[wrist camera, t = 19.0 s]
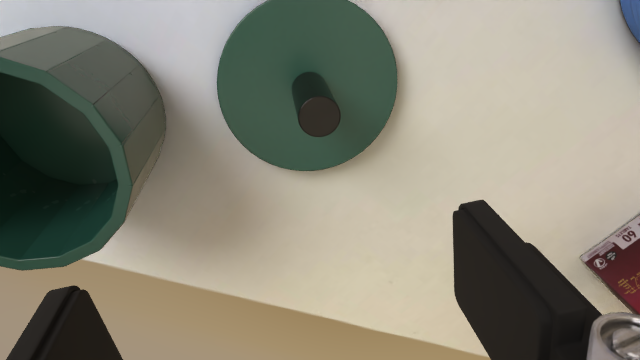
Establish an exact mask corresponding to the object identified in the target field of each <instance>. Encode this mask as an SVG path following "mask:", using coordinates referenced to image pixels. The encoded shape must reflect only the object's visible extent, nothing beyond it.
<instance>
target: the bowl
mask: <svg viewBox="0 0 640 360" xmlns="http://www.w3.org/2000/svg"><path fill="white" fill-rule="evenodd" d="M620 2H621V7H622V11H623V14H624V17H625V19H626V22H627V24H628V26H629V28H630V30H631V32H632V33H633V35H634V36H635V38H636V39H637V40H638V42H639V43H640V0H620Z"/></svg>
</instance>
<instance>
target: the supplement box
mask: <svg viewBox="0 0 640 360" xmlns="http://www.w3.org/2000/svg"><path fill="white" fill-rule="evenodd" d="M581 260H582V261H583V262H584V263H585V264H586V265H587V266H588V267H589V268H590V269H591V270H592V271H593V272H594V273H595V275H596V276H597V277H598V278H599V279H600V280H601V282H602V283H603V284H604V285H605V286H606V287H607V288H608V289H609V290H610V291H611V292H612V293H613V294H614V295H615V296H616V297H617V298H618V299H619V300H620V301H621V302H622V303H623V304H624V305H625V306H626V307H627V308H628V309H630V310H631V312H632V313H634V314H637V315H640V215H639V216H637V217H636V218H635V219H633V220H632V221H631V222H629V223H628V224H627V225H625V226H624V227H622V228H621V229H620V230H618V231H617V232H616V233H614V234H613V235H611V236H610V237H609V238H607V239H606V240H604V241H603V242H602V243H600V244H599V245H597V246H596V247H594V248H593V249H591V250H590V251H589V252H587V253H585V254H584V255H582V256H581Z"/></svg>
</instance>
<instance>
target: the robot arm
mask: <svg viewBox="0 0 640 360" xmlns="http://www.w3.org/2000/svg"><path fill="white" fill-rule="evenodd" d="M453 249H454V291H455V297H456V300H457V303H458V305H459V307H460V308H461V310H462V312H463V313H464V315H465V317H466V318H467V320H468V322H469V323H470V325H471V327H472V328H473V330H474V332H475V333H476V335H477V337H478V338H479V340H480V342H481V343H482V345H483V347H484V348H485V350H486V352H487V353H488V355H489V357H490V358H491V360H640V315H637V314H631V313H625V312H617V313H608V314H605V315H602V314H601V313H600V312H599V311H598V310H597V309H596V308H595V307H594V306H593V305H592V304H591V303H590V302H589V301H588V300H587V299H586V298H585V297H584V296H583V295H582V294H581V293H580V292H579V291H578V290H577V289H576V288H575V287H574V286H573V285H572V284H571V283H570V282H569V281H568V280H567V279H566V278H565V277H564V276H563V275H562V274H561V273H560V272H559V271H558V270H557V269H556V268H555V266H554V265H553V264H552V263H551V262H550V261H549V260H548V259H547V258H546V257H545V256H544V255H543V254H542V253H541V252H540V251H539V250H538V249H537V248H536V247H535V246H533V245H532V244H530V243H525V242H524V241H523V240H522V239H521V238H520V237H519V236H518V235H517V234H516V233H515V232H514V231H513V230H512V229H511V228H510V227H509V226H508V225H507V224H506V222H505V221H504V220H503V219H502V218H501V217H500V216H499V215H498V214H497V213H496V212H495V211H494V210H493V209H492V208H491V207H490V206H489V205H488V204H487V203H486V202H485V201H484V200H478V201H473V202H468V203H464V204H461V205H460V206H459V210H458V211H454V212H453ZM6 360H123V359H122V357H121V355H120V353H119V351H118V349H117V347H116V345H115V344H114V341H113V340H112V338H111V336H110V334H109V332H108V330H107V328H106V326H105V324H104V322H103V320H102V318H101V316H100V314H99V312H98V311H97V309H96V307H95V305H94V303H93V301H92V299H91V297H90V295H89V293H88V292H87V291H86V290H80V288H79V287H77V286H69V287H64V288H60V289H55V290H51V291H49V292H48V293H47V294H46V296H45V297H44V299H43V301H42V302H41V304H40V305H39V307H38V309H37V310H36V312H35V314H34V315H33V317H32V319H31V320H30V322H29V323H28V325H27V327H26V328H25V330H24V331H23V333H22V335H21V337H20V338H19V340H18V341H17V343H16V345H15V346H14V348H13V349H12V351H11V353H10V354H9V356H8V357H7V359H6Z"/></svg>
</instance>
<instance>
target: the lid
mask: <svg viewBox="0 0 640 360" xmlns="http://www.w3.org/2000/svg"><path fill="white" fill-rule="evenodd" d="M217 92H218V99H219V104H220V107H221V110H222V113H223V116H224V118H225V120H226V122H227V124H228V126H229V128H230V130H231V131H232V133H233V134H234V136H235V137H236V138H237V139H238V140H239V142H240V143H241V144H242V145H243V146H244V147H245V148H247V149H248V150H249V151H250V152H251V153H253V154H254V155H256V156H257V157H258V158H260V159H262V160H264V161H266V162H268V163H270V164H272V165H275V166H278V167H281V168H285V169H290V170H298V171H314V170H322V169H326V168H330V167H334V166H336V165H339V164H342V163H344V162H346V161H348V160H350V159H352V158H353V157H355V156H356V155H358V154H359V153H361V152H362V151H363V150H364V149H365V148H367V147H368V146H369V145H370V144H371V143H372V142H373V141H374V140H375V138H376V137H377V136H378V135H379V133H380V132H381V131H382V129H383V128H384V126H385V124H386V122H387V120H388V118H389V117H390V114H391V111H392V109H393V106H394V102H395V98H396V92H397V68H396V61H395V57H394V54H393V50H392V48H391V45H390V43H389V41H388V39H387V37H386V35H385V34H384V32H383V30H382V29H381V27H380V26H379V25H378V24H377V23H376V21H375V20H374V19H373V18H372V17H371V16H370V15H369V14H368V13H366V12H365V11H364V10H363V9H361V8H360V7H358V6H357V5H356V4H354V3H352V2H350V1H348V0H268V1H266V2H264V3H262V4H261V5H259V6H257V7H256V8H255V9H253V10H252V11H251V12H250V13H248V14H247V15H246V16H245V17H244V18H243V19H242V20H241V21H240V23H239V24H238V25H237V26H236V28H235V29H234V30H233V32H232V33H231V35H230V37H229V39H228V41H227V42H226V44H225V47H224V49H223V52H222V55H221V58H220V62H219V67H218V74H217Z"/></svg>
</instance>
